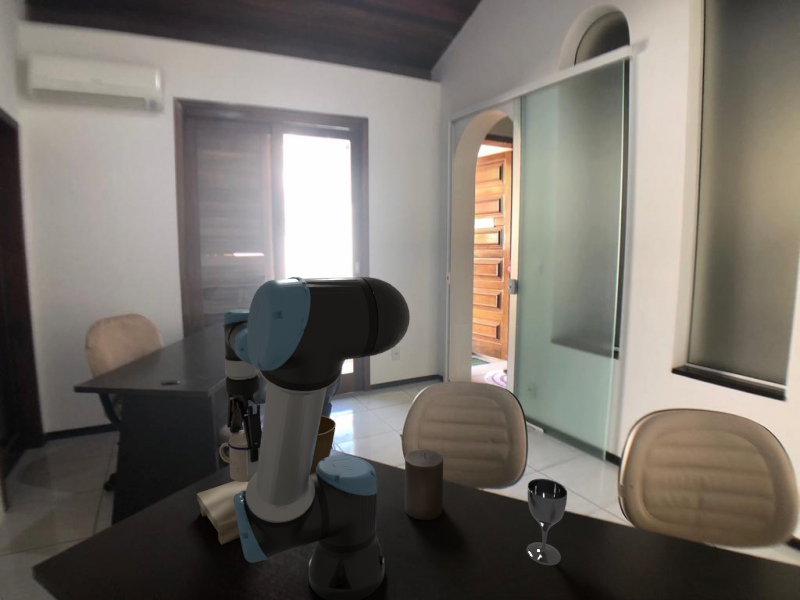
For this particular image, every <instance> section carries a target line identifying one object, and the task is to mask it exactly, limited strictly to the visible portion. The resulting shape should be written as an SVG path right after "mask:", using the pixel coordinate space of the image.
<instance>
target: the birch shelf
mask: <svg viewBox="0 0 800 600" xmlns="http://www.w3.org/2000/svg"><path fill="white" fill-rule="evenodd" d="M247 485H248V482H238V481H235V480H233V481H231V482H227V483H224V484H222V485H219V486H216V487H212V488H209V489H207V490H203V491H200V492H198V493H196V502H197V503H198V504H199V506H200V507H199V510H200V514H201V516H202V517H204V518H205V517H207V518H208V519H209V521H210V522H211V524H212V526H213V527H214V529H216V532H217V539H218V542H219V544H220V545H224V544H226V543H229V542H232V541H234V540H237V539H239V538H240V535H239V530H238V525H237V519H236V514H235V508H234V496H235V495H236V494H237V493H240V492H241V491H243V490H245V491H246V488H247Z"/></svg>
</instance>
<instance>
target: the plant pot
mask: <svg viewBox="0 0 800 600" xmlns="http://www.w3.org/2000/svg"><path fill="white" fill-rule="evenodd" d="M336 426H337V424H336V421H335V420H334V419H332V418H331V417H328V416H325V415H321V420H320V425H319V430H318V435H317V440H316V445H315V450H314V455H313V460H312V466H311V471H310V474H313V473H316V467H317V465H318V463H319V462H320V461H322V459H324V458H326V457H329V456H330V455H331V451H332V447H333V442H334V439H335V438H334V437H335V432H336Z"/></svg>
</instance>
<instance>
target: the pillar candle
mask: <svg viewBox="0 0 800 600" xmlns="http://www.w3.org/2000/svg"><path fill="white" fill-rule="evenodd" d="M443 486H444V457H443V455H442V454H441V453H440V452H438V451H435V450H432V449H427V448H425V449H424V448H420V449H413V450H411V451H409V452H407V453H406V454H405V456H404V511H405V513H406V515H408V516H409V517H411V518H413V519H415V520H421V521H432V520H435V519H437V518H439V517H440V516H441V515H442V514H443V503H444V502H443V501H444V499H443V498H444V497H443V496H444V494H443V493H444V487H443Z"/></svg>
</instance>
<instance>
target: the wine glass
mask: <svg viewBox="0 0 800 600" xmlns="http://www.w3.org/2000/svg"><path fill="white" fill-rule="evenodd" d="M527 503H528V509H529V512H530V514H531V516H532V517H533V518H534V520H536V522H537V523H538V525H539V526H540V529H541V536H542V538H541V540H542V542H540V541H538V542H536V541H535V542H532V543H529V544H528V545H527V547H526V549H525V550H526V554H527V556H528V558H530V559H531V560H532V561H534V562H535V563H537V564H538V565H543V566H550V567H552V566H555V565H558V564H559V563H560V562H561V559H562V556H561V553H560V552H559V550H558V549H556V548H555V546H552V545H551V544H548V543H547V538H548V533H549V530H550V529H551V527H553V526H554V525H555V524H557V523H559V522H560V521H561V520H562V518H563V517H564V514H565V511H566V506H567V503H568V491H567V488H566V487H565V486H564V485H562V484H561V483H560V482H559V481H555V480H552V479H548V478H535V479H532V480H530V481H529V482H528V483H527Z"/></svg>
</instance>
